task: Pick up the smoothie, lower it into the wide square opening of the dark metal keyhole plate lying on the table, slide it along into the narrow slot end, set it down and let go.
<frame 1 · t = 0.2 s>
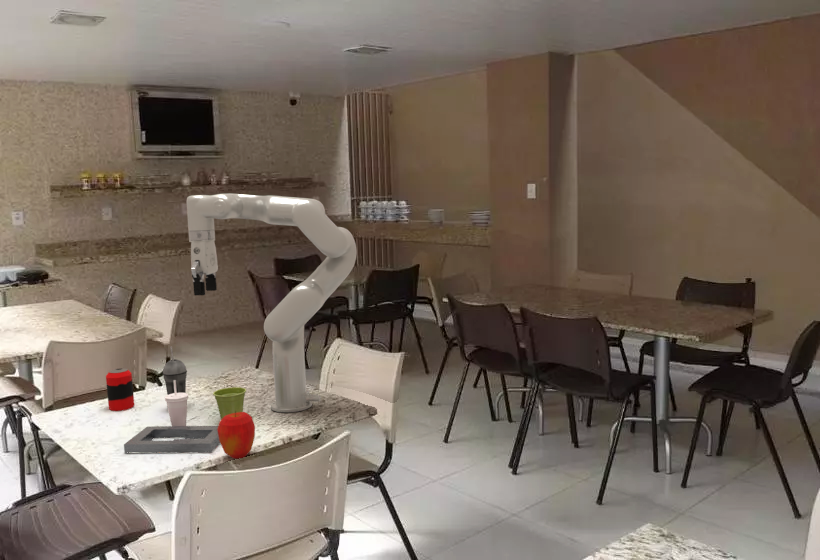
hand: (205, 292, 217), 36 cm above the table, tool pointing down, fingers open, 9 cm apart
apple: (238, 457, 180), on the table
beverage cup: (177, 409, 223), on the table
smoothie: (179, 429, 204), on the table
plant pot: (231, 420, 210), on the table
keyhole plate: (180, 443, 192), on the table
soda can: (121, 408, 227), on the table
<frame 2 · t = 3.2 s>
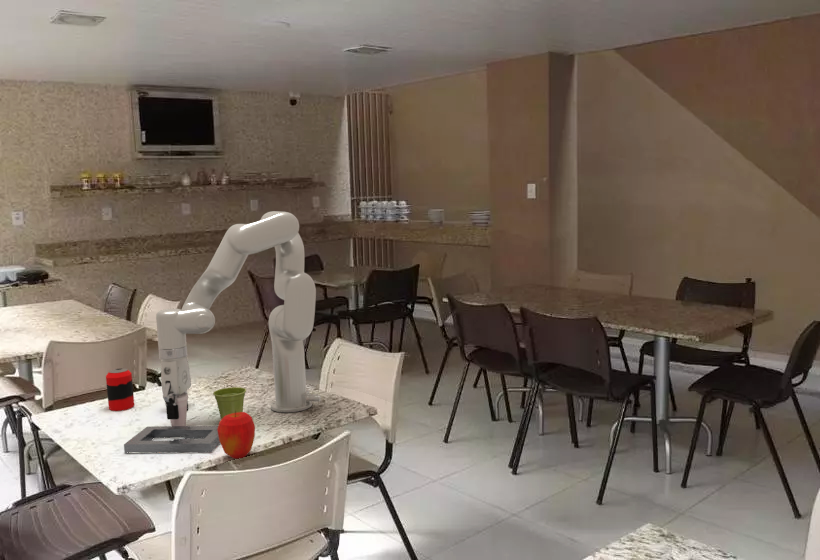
hand: (178, 414, 203), 4 cm above the table, tool pointing down, fingers closed on smoothie, 6 cm apart
smoothie: (179, 429, 204), on the table, touching gripper
everything else where it was.
when the fingers open (4 cm above the table, at t = 9.9 s): smoothie stays where it is, resting in keyhole plate.
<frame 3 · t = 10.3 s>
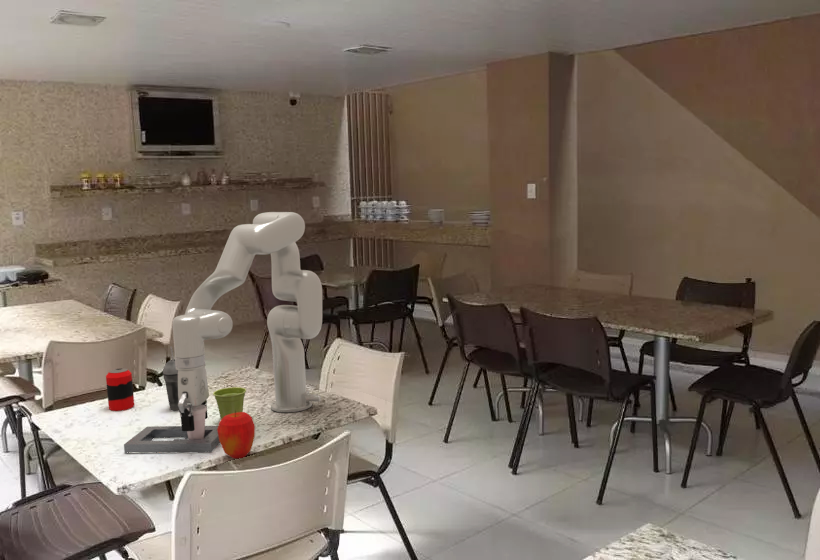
hand: (195, 424, 191), 5 cm above the table, tool pointing down, fingers open, 9 cm apart
smoothie: (196, 443, 192), resting in keyhole plate
everything else where it was.
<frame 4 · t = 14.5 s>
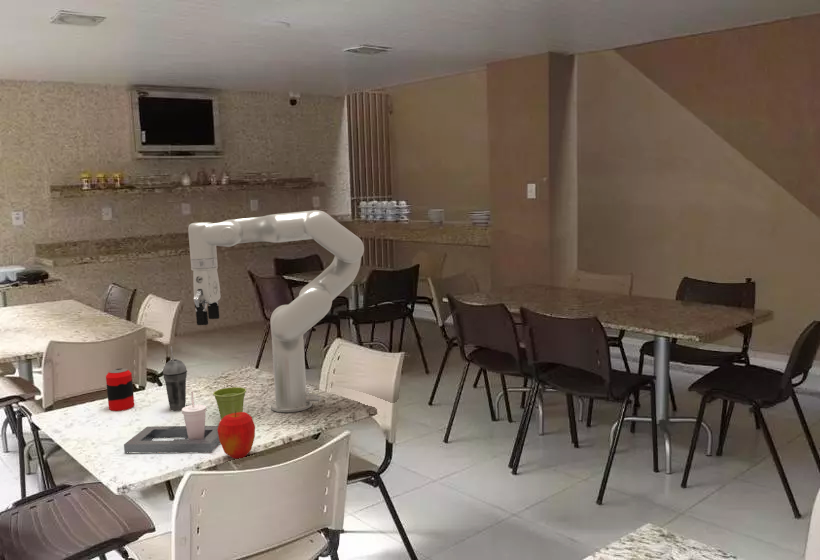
hand: (208, 321, 213), 28 cm above the table, tool pointing down, fingers open, 9 cm apart
nothing on the table moved.
at the end: smoothie 0.3 cm from the target spot on the keyhole plate, point 0.0 cm above the keyhole plate's base; smoothie tilted 0°; the gripper is holding nothing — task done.
